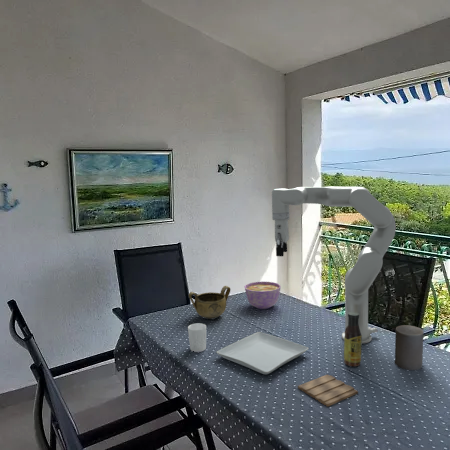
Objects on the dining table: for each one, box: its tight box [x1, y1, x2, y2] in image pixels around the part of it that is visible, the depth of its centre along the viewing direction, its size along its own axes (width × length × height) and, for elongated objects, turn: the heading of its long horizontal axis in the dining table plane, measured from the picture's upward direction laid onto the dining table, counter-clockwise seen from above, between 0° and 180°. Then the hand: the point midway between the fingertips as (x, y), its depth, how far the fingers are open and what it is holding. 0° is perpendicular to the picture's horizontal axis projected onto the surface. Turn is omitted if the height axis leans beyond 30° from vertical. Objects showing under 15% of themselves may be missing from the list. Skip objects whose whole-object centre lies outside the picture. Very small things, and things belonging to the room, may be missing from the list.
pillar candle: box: [394, 324, 424, 371], centre depth 156 cm, size 10×10×15 cm
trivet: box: [297, 374, 359, 407], centre depth 141 cm, size 14×14×1 cm
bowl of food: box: [244, 281, 281, 310], centre depth 229 cm, size 20×20×12 cm
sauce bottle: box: [343, 312, 362, 367], centre depth 158 cm, size 7×6×20 cm
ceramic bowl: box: [188, 285, 231, 320], centre depth 216 cm, size 22×17×15 cm
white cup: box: [187, 322, 207, 353], centre depth 178 cm, size 8×8×10 cm
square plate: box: [215, 331, 309, 375], centre depth 168 cm, size 27×27×4 cm
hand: (281, 254), depth 188 cm, fingers open, 9 cm apart
